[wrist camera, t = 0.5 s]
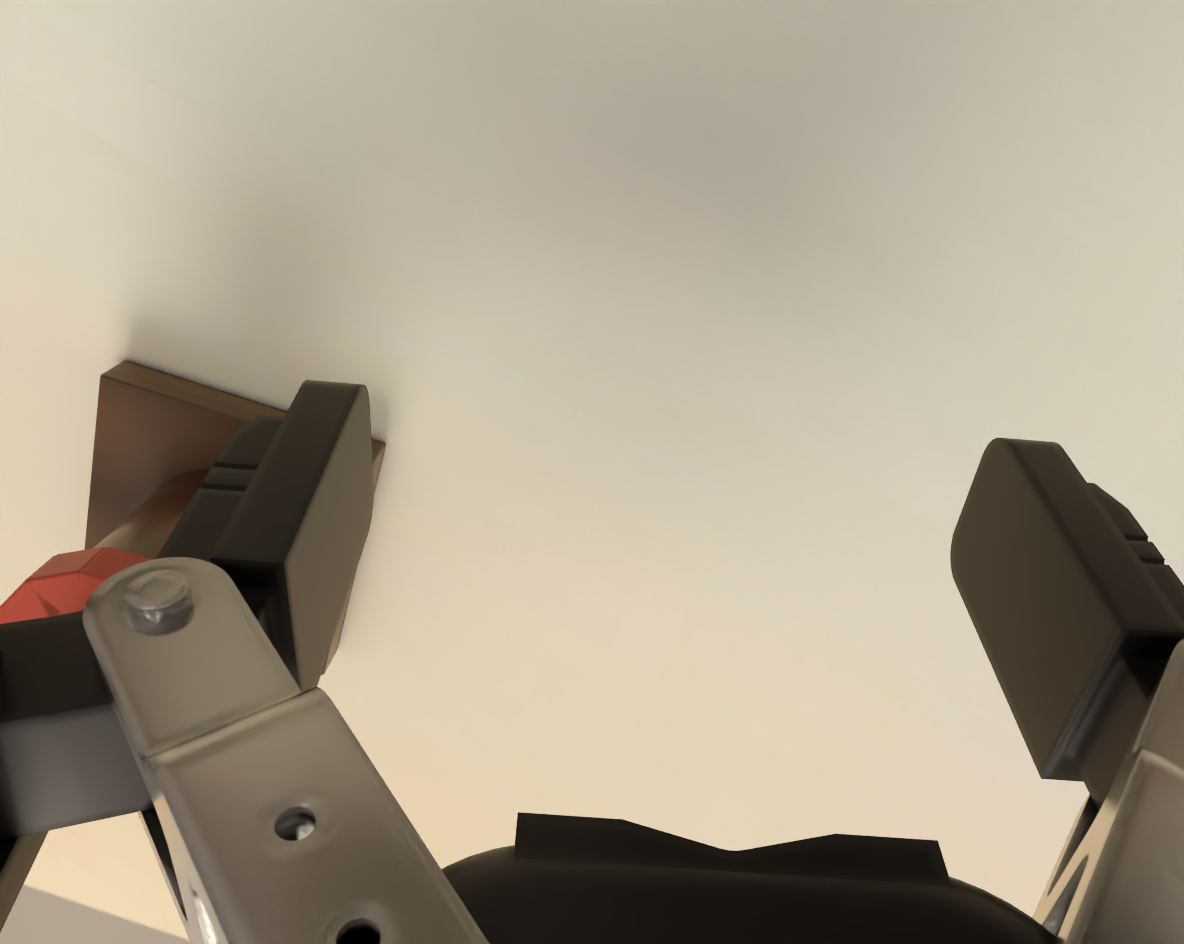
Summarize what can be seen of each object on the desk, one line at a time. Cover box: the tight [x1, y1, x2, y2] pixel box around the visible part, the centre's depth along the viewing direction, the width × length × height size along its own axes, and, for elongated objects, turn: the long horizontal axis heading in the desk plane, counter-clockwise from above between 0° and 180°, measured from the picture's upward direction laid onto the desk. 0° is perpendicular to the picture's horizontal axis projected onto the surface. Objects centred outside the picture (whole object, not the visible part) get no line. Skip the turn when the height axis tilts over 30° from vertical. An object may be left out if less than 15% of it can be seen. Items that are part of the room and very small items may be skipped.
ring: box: [0, 547, 151, 624], centre depth 27 cm, size 6×6×1 cm
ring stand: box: [85, 361, 385, 675], centre depth 28 cm, size 9×9×15 cm
